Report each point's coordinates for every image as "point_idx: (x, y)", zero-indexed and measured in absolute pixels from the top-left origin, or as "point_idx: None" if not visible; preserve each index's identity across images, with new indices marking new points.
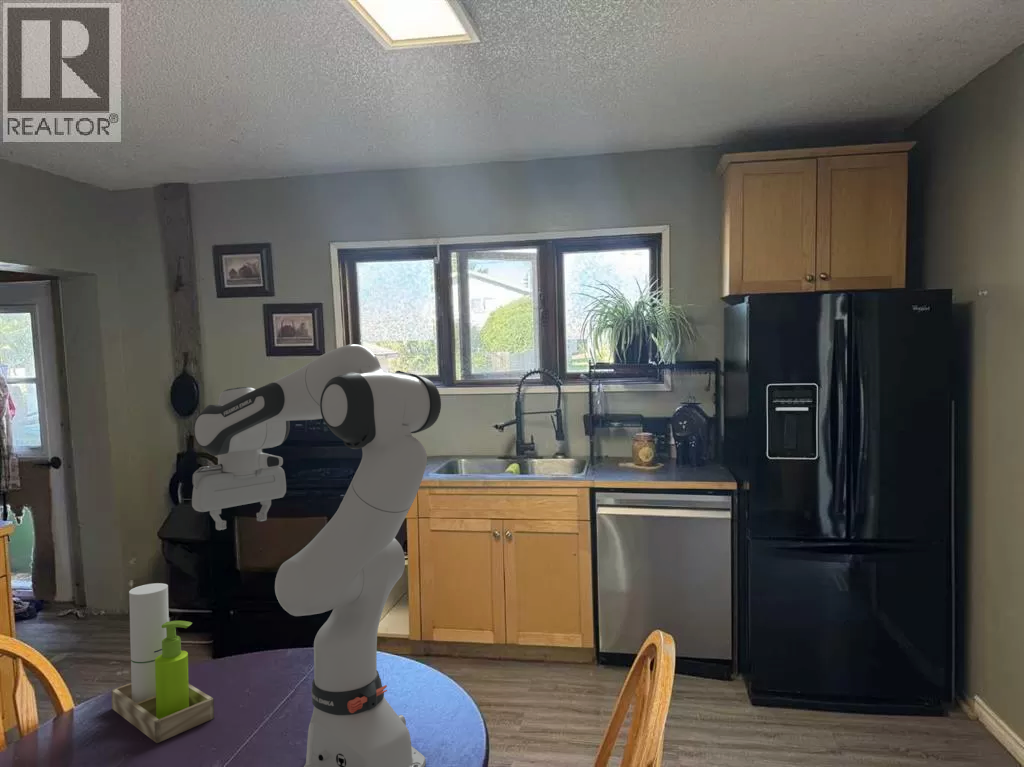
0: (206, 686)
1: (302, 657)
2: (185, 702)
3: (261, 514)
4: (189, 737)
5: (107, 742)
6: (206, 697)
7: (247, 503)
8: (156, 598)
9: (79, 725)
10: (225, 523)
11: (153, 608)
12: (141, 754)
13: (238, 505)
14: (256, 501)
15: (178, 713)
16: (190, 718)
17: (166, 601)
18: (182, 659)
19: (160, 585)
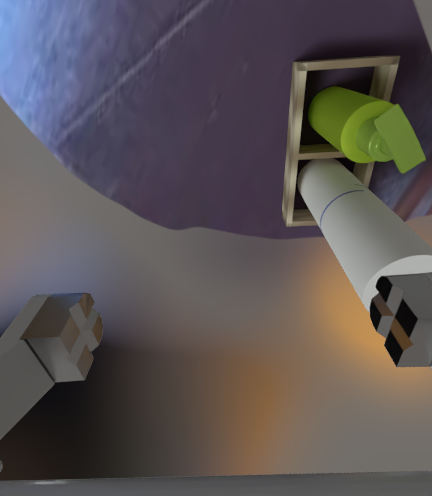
0: (247, 177)
1: (101, 155)
2: (331, 93)
3: (55, 331)
4: (349, 28)
5: (409, 122)
6: (304, 80)
7: (202, 483)
8: (411, 245)
9: (393, 198)
10: (416, 300)
11: (406, 233)
12: (414, 39)
13: (366, 472)
14: (34, 493)
15: (363, 58)
16: (337, 59)
17: (370, 246)
18: (367, 103)
19: (376, 292)
